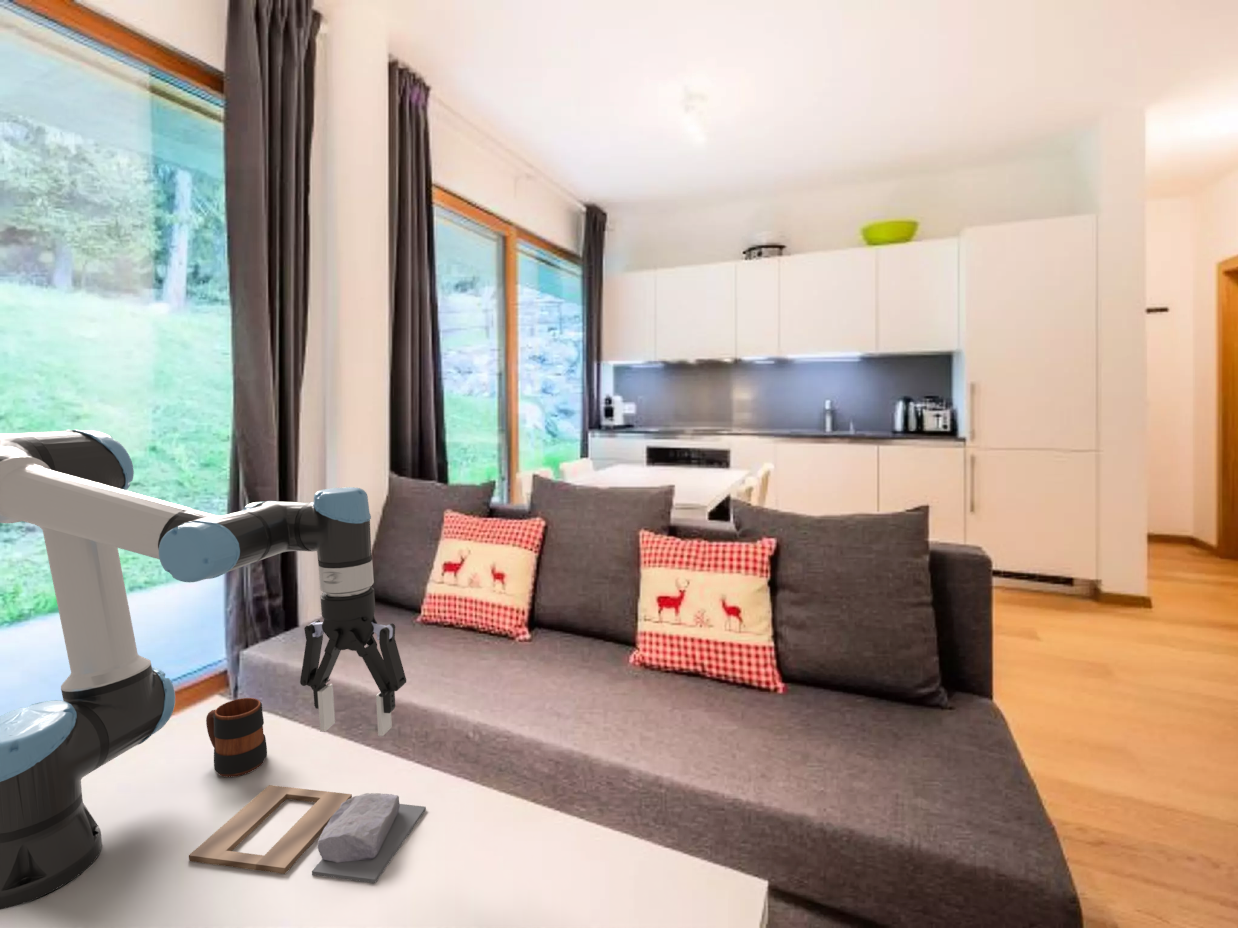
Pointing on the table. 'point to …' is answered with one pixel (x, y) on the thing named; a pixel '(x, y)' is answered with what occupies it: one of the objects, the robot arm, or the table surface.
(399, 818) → the mat
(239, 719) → the mug
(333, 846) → the stone block
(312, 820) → the pocket board
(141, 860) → the table surface
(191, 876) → the table surface
